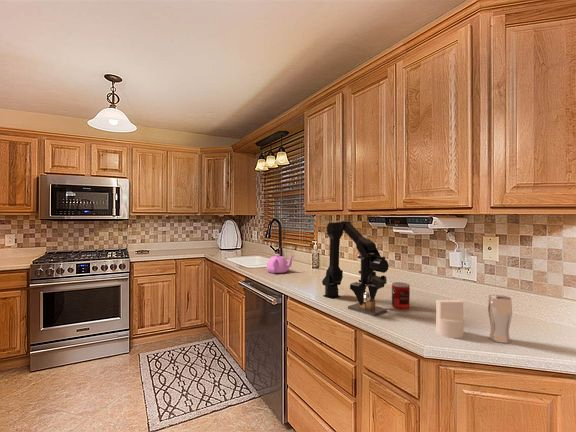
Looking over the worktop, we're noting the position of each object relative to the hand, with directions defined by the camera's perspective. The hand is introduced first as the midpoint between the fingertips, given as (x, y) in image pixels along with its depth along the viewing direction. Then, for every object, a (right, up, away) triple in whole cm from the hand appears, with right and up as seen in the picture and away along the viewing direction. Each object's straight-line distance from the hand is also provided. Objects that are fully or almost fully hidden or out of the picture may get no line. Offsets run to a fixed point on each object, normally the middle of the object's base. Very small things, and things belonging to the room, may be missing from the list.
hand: (366, 303), depth 140 cm
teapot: (-42, -3, +93) cm, 102 cm away
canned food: (+17, -4, +5) cm, 18 cm away
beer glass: (+38, -4, -33) cm, 50 cm away
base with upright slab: (+23, -4, -27) cm, 36 cm away
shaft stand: (0, -3, 0) cm, 3 cm away
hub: (0, -2, 0) cm, 2 cm away
